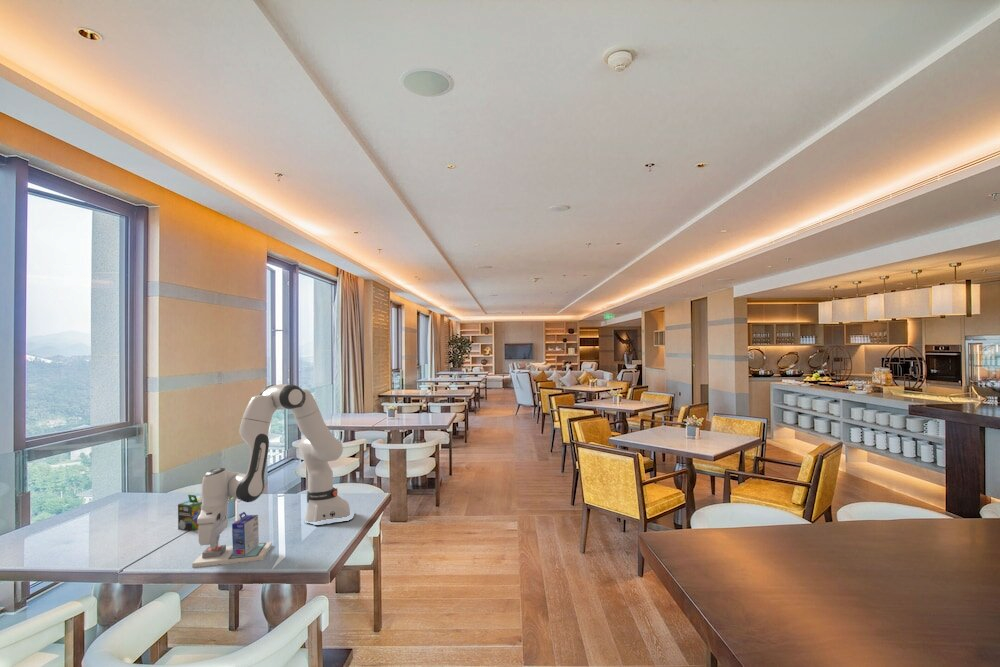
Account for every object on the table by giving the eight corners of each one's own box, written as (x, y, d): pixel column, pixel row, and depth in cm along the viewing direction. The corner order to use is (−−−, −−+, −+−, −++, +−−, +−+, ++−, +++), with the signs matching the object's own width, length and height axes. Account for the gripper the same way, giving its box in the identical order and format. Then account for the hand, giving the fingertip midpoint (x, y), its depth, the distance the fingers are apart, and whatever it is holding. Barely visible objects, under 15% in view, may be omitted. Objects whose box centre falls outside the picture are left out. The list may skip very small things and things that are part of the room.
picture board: (271, 545, 194) (271, 537, 194) (262, 560, 180) (262, 550, 180) (206, 552, 189) (206, 543, 189) (192, 567, 175) (192, 557, 175)
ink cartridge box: (245, 545, 191) (246, 508, 191) (259, 545, 191) (259, 508, 191) (231, 555, 181) (231, 517, 181) (245, 555, 181) (245, 517, 181)
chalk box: (210, 524, 220) (210, 492, 221) (191, 531, 212) (192, 498, 212) (195, 522, 223) (196, 490, 224) (176, 529, 215) (177, 496, 215)
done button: (221, 550, 185) (221, 545, 185) (218, 555, 181) (218, 549, 182) (210, 551, 184) (210, 546, 185) (206, 556, 181) (206, 550, 181)
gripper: (215, 504, 193) (215, 538, 193) (194, 521, 173) (194, 559, 173) (232, 502, 195) (232, 537, 194) (214, 519, 175) (213, 557, 174)
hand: (214, 548), depth 183 cm, fingers closed, pressing on done button
